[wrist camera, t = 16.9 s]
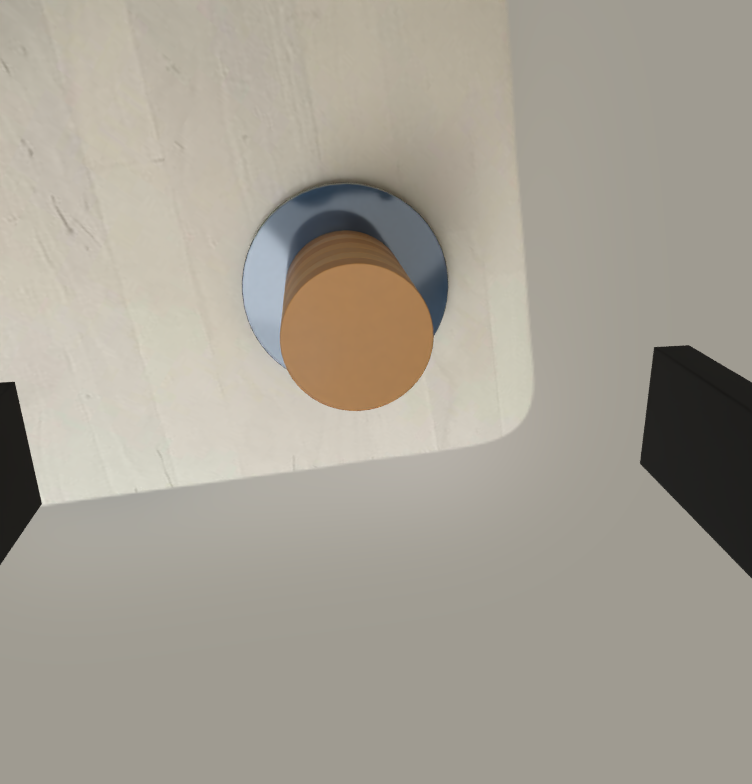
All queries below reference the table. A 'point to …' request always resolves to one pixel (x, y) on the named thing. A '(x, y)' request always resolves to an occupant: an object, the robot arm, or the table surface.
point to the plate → (328, 214)
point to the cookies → (353, 323)
